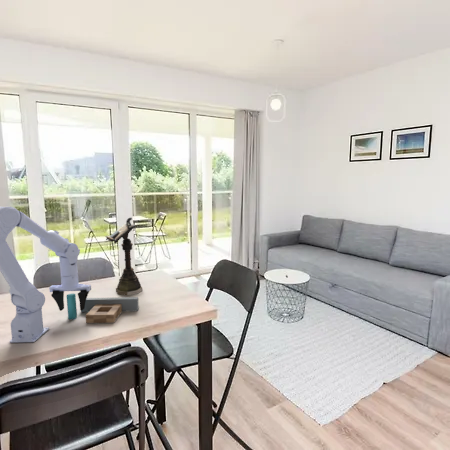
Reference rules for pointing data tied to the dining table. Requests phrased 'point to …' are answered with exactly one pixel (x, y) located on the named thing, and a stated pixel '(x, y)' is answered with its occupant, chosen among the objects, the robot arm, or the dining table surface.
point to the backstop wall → (126, 302)
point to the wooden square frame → (104, 313)
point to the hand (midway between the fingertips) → (72, 309)
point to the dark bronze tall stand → (126, 262)
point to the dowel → (71, 306)
